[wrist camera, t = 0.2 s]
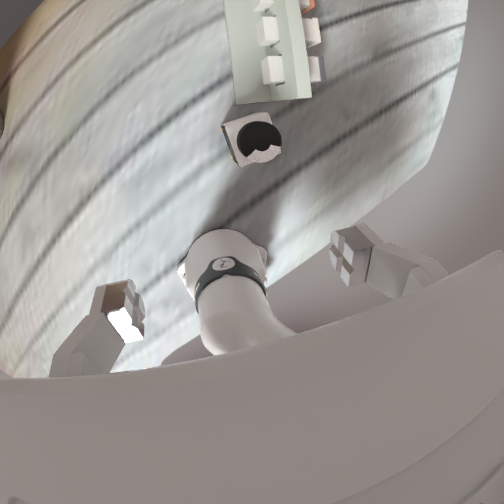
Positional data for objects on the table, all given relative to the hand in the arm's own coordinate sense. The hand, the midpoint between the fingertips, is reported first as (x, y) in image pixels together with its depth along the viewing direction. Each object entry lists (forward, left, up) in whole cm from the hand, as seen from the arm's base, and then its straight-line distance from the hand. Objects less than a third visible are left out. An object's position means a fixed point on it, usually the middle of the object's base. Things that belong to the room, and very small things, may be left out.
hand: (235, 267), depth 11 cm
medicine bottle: (+1, -8, -40) cm, 41 cm away
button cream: (+19, -15, -35) cm, 43 cm away
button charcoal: (+12, -15, -35) cm, 40 cm away
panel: (+19, -11, -40) cm, 45 cm away
